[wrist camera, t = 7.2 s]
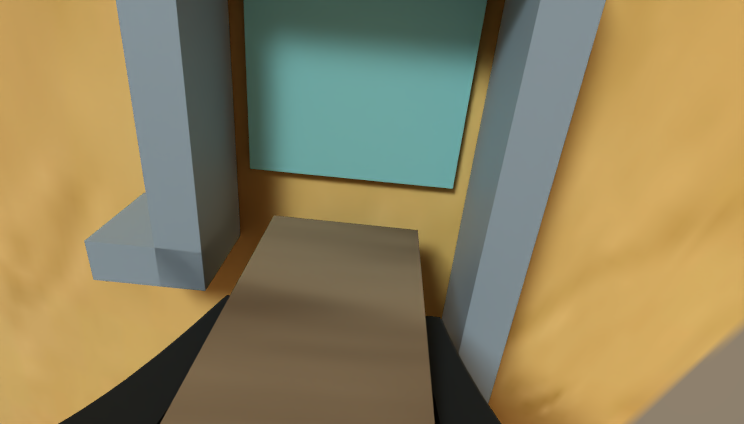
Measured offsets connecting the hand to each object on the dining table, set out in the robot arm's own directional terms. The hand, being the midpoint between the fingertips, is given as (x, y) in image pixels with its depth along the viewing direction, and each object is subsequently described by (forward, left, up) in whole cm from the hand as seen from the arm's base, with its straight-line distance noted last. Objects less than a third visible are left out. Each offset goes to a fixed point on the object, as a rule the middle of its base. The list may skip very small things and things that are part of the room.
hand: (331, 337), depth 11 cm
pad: (+6, 0, -4) cm, 7 cm away
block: (0, 0, -2) cm, 2 cm away
